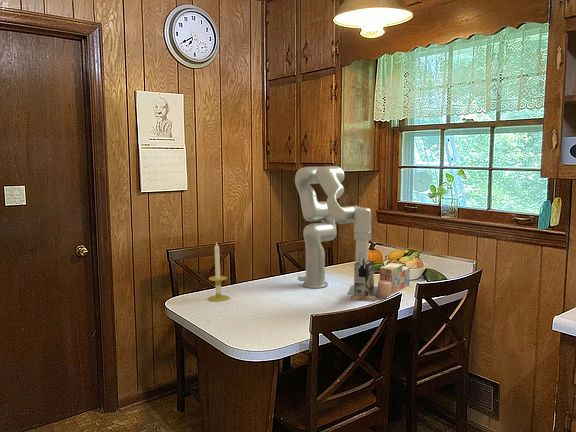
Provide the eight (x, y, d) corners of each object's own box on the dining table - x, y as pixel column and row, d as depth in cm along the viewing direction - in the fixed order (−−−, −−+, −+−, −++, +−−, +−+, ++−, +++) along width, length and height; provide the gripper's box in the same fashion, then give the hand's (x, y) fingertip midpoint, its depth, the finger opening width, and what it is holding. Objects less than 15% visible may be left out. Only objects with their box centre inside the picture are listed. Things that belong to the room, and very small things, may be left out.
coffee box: (366, 300, 218) (366, 265, 215) (353, 297, 221) (353, 263, 219) (374, 294, 226) (374, 260, 223) (361, 292, 229) (361, 259, 226)
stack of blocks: (397, 283, 246) (398, 259, 244) (409, 285, 242) (410, 261, 240) (378, 292, 229) (379, 267, 227) (391, 294, 225) (392, 269, 223)
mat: (347, 294, 227) (347, 294, 227) (351, 286, 242) (351, 285, 242) (381, 296, 223) (381, 295, 223) (383, 287, 239) (383, 286, 238)
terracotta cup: (376, 298, 220) (377, 283, 218) (377, 293, 226) (378, 279, 224) (390, 299, 218) (391, 285, 217) (390, 295, 224) (391, 280, 223)
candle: (214, 294, 231) (212, 239, 228) (233, 296, 228) (231, 240, 225) (203, 300, 222) (201, 243, 219) (223, 302, 219) (221, 244, 215)
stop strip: (350, 300, 218) (350, 296, 218) (350, 299, 220) (350, 295, 219) (375, 301, 216) (375, 297, 216) (375, 300, 217) (375, 296, 217)
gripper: (355, 233, 220) (356, 272, 222) (351, 238, 206) (351, 280, 208) (372, 233, 218) (372, 273, 220) (369, 238, 204) (369, 281, 206)
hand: (362, 276), depth 214 cm, fingers closed
